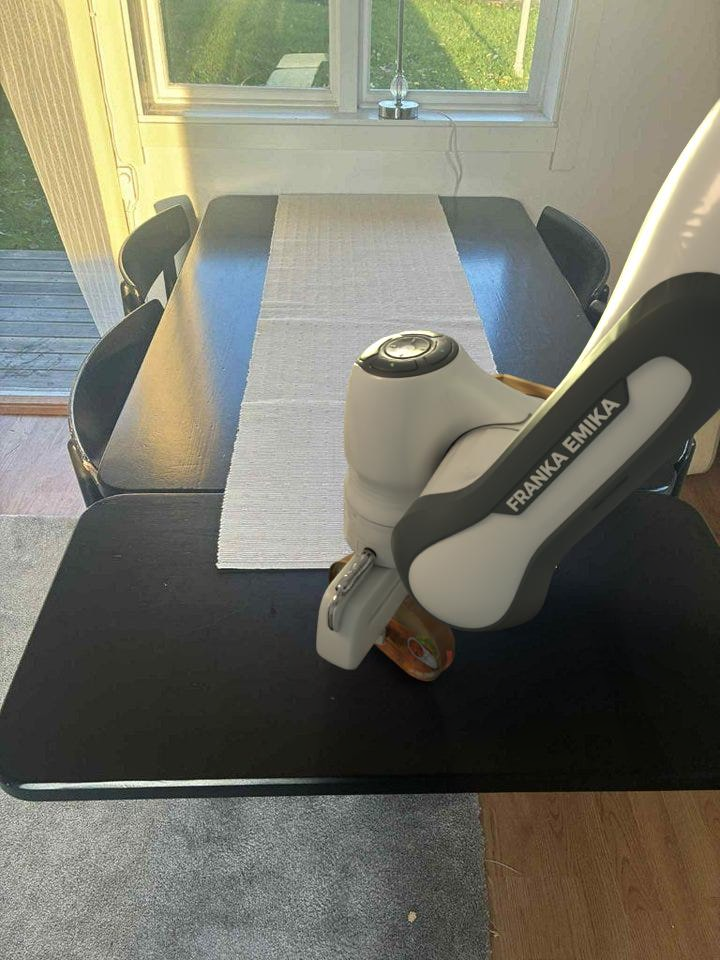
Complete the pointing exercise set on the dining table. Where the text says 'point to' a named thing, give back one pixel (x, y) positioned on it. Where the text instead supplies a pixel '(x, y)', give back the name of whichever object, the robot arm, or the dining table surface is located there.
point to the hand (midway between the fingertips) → (389, 620)
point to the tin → (413, 637)
